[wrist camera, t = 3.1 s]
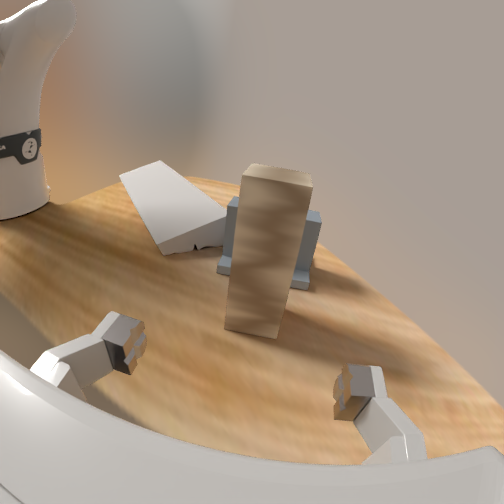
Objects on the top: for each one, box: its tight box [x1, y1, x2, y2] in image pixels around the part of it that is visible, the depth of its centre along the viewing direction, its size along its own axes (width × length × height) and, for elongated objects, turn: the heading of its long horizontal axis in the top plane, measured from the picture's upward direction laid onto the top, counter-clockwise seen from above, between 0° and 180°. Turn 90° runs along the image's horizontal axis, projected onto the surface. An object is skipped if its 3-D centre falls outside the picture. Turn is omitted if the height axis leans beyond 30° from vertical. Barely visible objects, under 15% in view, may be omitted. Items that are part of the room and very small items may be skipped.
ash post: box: [224, 163, 313, 339], centre depth 22 cm, size 4×4×13 cm
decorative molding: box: [119, 161, 227, 256], centre depth 47 cm, size 34×5×10 cm
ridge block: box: [217, 196, 322, 290], centre depth 33 cm, size 10×8×7 cm
